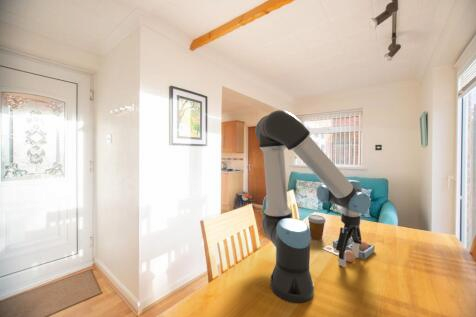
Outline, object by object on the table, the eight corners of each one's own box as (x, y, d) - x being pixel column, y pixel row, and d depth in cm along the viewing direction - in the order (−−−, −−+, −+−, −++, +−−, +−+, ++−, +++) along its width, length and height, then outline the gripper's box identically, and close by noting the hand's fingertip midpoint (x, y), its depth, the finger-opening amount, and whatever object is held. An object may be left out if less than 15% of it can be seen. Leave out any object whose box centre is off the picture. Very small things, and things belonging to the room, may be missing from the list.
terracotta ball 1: (352, 265, 88) (352, 254, 88) (340, 260, 92) (340, 249, 92) (357, 262, 91) (357, 251, 91) (345, 257, 95) (346, 246, 95)
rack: (364, 259, 93) (364, 253, 93) (332, 247, 105) (332, 241, 105) (374, 251, 101) (374, 245, 101) (344, 240, 113) (344, 235, 112)
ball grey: (348, 249, 102) (349, 240, 102) (339, 246, 106) (339, 236, 106) (353, 247, 105) (353, 237, 105) (343, 243, 109) (343, 234, 109)
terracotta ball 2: (366, 254, 98) (366, 244, 98) (355, 250, 102) (355, 240, 102) (370, 251, 101) (370, 241, 101) (359, 247, 105) (359, 238, 105)
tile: (337, 255, 96) (337, 254, 96) (322, 248, 103) (322, 247, 103) (343, 252, 100) (343, 251, 100) (328, 245, 106) (328, 244, 106)
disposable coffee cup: (327, 241, 111) (328, 220, 111) (310, 241, 111) (311, 219, 111) (321, 234, 121) (321, 214, 120) (305, 234, 121) (305, 214, 121)
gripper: (346, 222, 80) (344, 274, 81) (370, 211, 95) (368, 256, 96) (328, 217, 86) (326, 266, 87) (353, 208, 101) (352, 250, 102)
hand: (348, 261), depth 91 cm, fingers open, 12 cm apart
